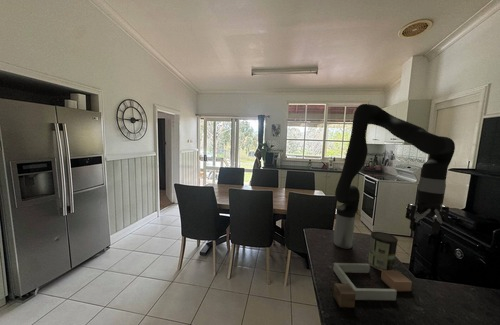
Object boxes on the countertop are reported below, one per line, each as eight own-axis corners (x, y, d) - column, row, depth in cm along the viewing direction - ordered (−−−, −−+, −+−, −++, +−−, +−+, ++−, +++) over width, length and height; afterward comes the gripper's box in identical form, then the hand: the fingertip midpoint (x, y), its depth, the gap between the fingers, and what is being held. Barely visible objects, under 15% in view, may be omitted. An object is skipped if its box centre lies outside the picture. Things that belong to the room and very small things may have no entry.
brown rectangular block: (380, 279, 85) (381, 270, 84) (396, 279, 85) (397, 270, 85) (393, 291, 78) (394, 282, 77) (410, 291, 78) (412, 282, 78)
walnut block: (333, 296, 73) (334, 283, 73) (346, 296, 74) (348, 283, 73) (339, 307, 69) (341, 293, 68) (354, 307, 69) (355, 294, 68)
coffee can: (387, 260, 98) (391, 232, 97) (398, 273, 88) (402, 243, 87) (364, 257, 100) (367, 230, 99) (372, 269, 90) (376, 239, 89)
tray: (333, 270, 88) (334, 262, 88) (367, 271, 89) (368, 263, 89) (354, 299, 72) (355, 290, 72) (395, 300, 73) (396, 291, 72)
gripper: (440, 188, 79) (433, 227, 81) (404, 186, 79) (398, 226, 81) (460, 193, 72) (452, 236, 74) (420, 191, 71) (414, 235, 73)
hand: (424, 231), depth 77 cm, fingers open, 8 cm apart
